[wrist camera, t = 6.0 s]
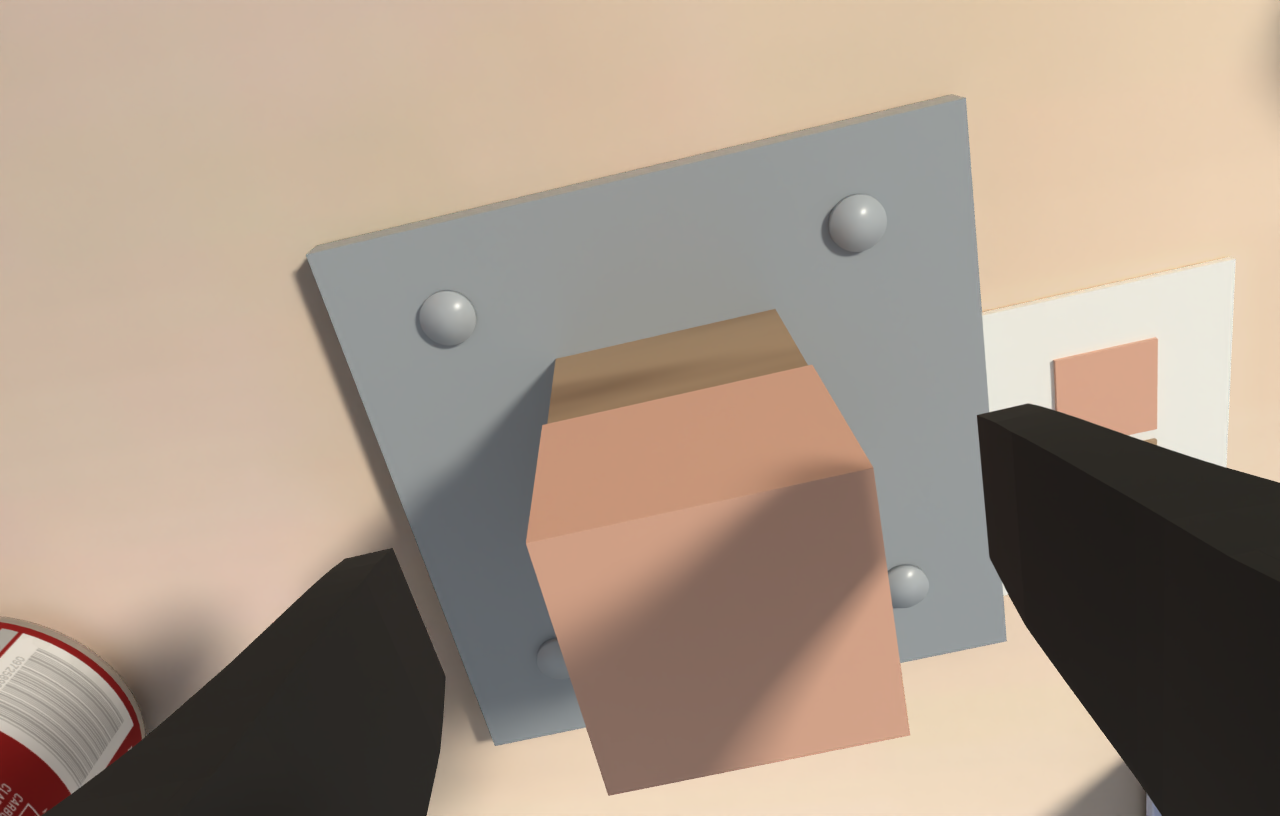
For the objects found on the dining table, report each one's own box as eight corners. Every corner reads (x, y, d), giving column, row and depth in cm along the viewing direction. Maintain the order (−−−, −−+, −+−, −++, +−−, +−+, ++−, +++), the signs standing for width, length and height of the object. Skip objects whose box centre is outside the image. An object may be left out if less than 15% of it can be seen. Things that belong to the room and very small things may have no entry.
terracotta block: (848, 590, 18) (910, 735, 15) (606, 640, 19) (608, 795, 15) (812, 364, 16) (873, 467, 13) (541, 425, 17) (525, 543, 13)
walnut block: (808, 501, 22) (849, 599, 18) (608, 543, 22) (609, 649, 19) (775, 308, 20) (814, 376, 16) (555, 358, 20) (545, 435, 17)
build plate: (994, 622, 25) (1009, 645, 24) (497, 724, 26) (494, 751, 25) (952, 94, 19) (969, 98, 18) (316, 245, 20) (302, 257, 19)
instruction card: (1218, 545, 24) (1225, 551, 24) (992, 592, 24) (996, 599, 24) (1230, 256, 21) (1238, 260, 21) (969, 315, 21) (974, 319, 21)
